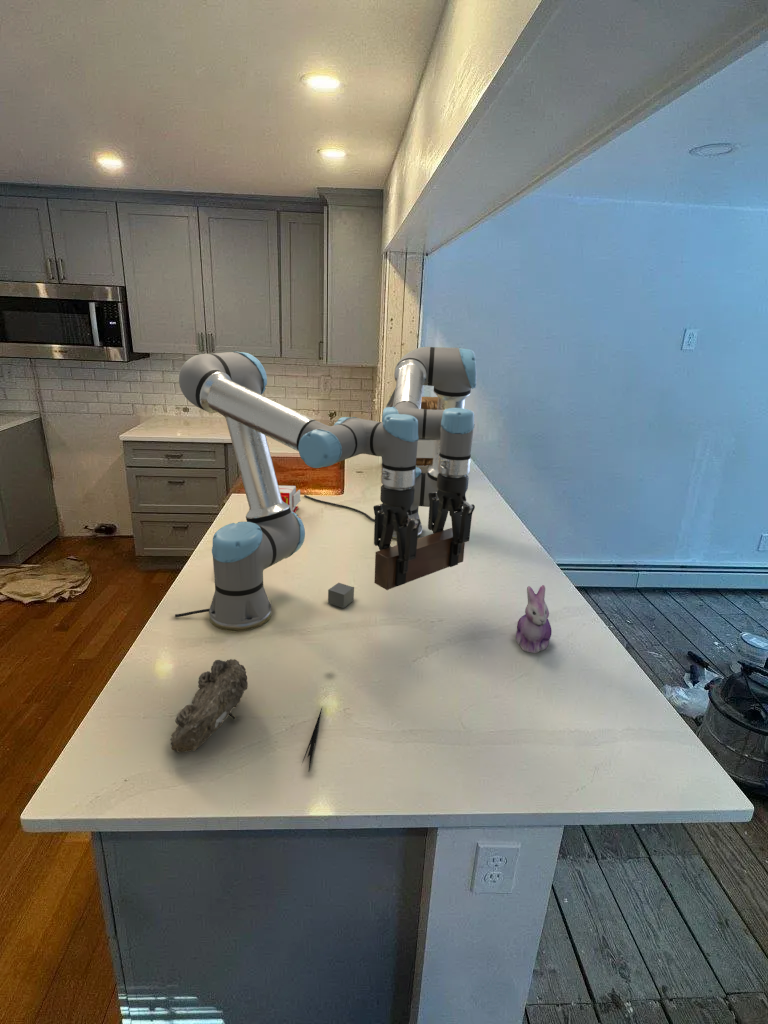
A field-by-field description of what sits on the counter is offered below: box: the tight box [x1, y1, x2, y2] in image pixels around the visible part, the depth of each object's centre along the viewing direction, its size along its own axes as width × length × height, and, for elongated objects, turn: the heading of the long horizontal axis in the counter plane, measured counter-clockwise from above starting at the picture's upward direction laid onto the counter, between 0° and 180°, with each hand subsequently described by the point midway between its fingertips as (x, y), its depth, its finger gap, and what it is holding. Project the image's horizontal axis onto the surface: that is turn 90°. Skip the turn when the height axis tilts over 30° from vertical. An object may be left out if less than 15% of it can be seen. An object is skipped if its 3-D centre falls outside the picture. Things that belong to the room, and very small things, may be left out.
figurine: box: [515, 584, 552, 654], centre depth 134 cm, size 9×10×15 cm
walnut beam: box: [373, 527, 466, 591], centre depth 138 cm, size 4×26×8 cm, turn 131°
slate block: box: [327, 582, 355, 609], centre depth 152 cm, size 5×5×4 cm
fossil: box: [170, 658, 249, 753], centre depth 106 cm, size 22×10×15 cm
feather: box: [301, 673, 332, 771], centre depth 108 cm, size 2×28×2 cm
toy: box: [278, 484, 301, 513], centre depth 208 cm, size 12×13×30 cm
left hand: (392, 580), depth 133 cm, fingers closed on walnut beam, 4 cm apart
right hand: (445, 561), depth 145 cm, fingers closed on walnut beam, 4 cm apart
